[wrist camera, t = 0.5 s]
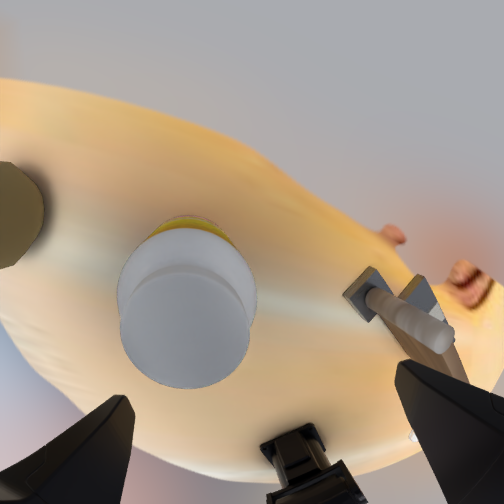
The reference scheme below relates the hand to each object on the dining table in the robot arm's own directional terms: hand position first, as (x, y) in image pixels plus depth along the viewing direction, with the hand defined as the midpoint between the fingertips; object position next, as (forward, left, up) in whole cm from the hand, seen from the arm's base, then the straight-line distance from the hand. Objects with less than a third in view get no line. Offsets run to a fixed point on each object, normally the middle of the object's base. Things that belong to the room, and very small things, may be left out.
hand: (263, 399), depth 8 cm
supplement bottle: (+2, +2, -15) cm, 15 cm away
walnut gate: (-12, -13, -14) cm, 22 cm away
